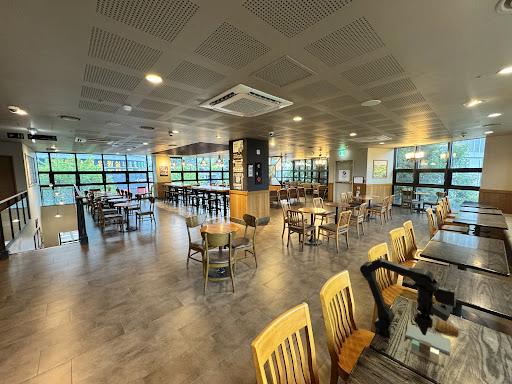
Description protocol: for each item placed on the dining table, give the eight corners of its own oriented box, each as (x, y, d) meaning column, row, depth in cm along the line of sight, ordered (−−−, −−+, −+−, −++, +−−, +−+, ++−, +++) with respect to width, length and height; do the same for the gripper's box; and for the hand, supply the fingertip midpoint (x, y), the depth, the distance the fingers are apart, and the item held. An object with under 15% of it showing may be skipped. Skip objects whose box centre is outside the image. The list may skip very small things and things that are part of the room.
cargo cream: (429, 357, 96) (429, 351, 96) (430, 353, 98) (430, 347, 98) (438, 360, 94) (438, 354, 94) (439, 356, 96) (439, 350, 96)
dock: (405, 339, 109) (405, 334, 109) (408, 328, 116) (408, 324, 116) (449, 357, 97) (449, 352, 97) (450, 344, 104) (450, 339, 104)
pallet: (405, 352, 102) (405, 339, 101) (408, 344, 106) (408, 331, 106) (444, 370, 92) (444, 355, 91) (445, 360, 96) (445, 346, 96)
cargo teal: (411, 348, 102) (411, 342, 101) (412, 344, 104) (412, 339, 103) (419, 351, 99) (419, 345, 99) (420, 348, 102) (420, 342, 101)
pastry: (458, 331, 113) (458, 324, 112) (458, 338, 108) (458, 331, 108) (435, 323, 119) (435, 317, 119) (434, 330, 115) (434, 323, 114)
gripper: (447, 315, 85) (447, 351, 86) (449, 295, 98) (448, 326, 99) (414, 304, 93) (414, 337, 94) (419, 287, 106) (419, 316, 107)
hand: (425, 329), depth 98 cm, fingers open, 9 cm apart
